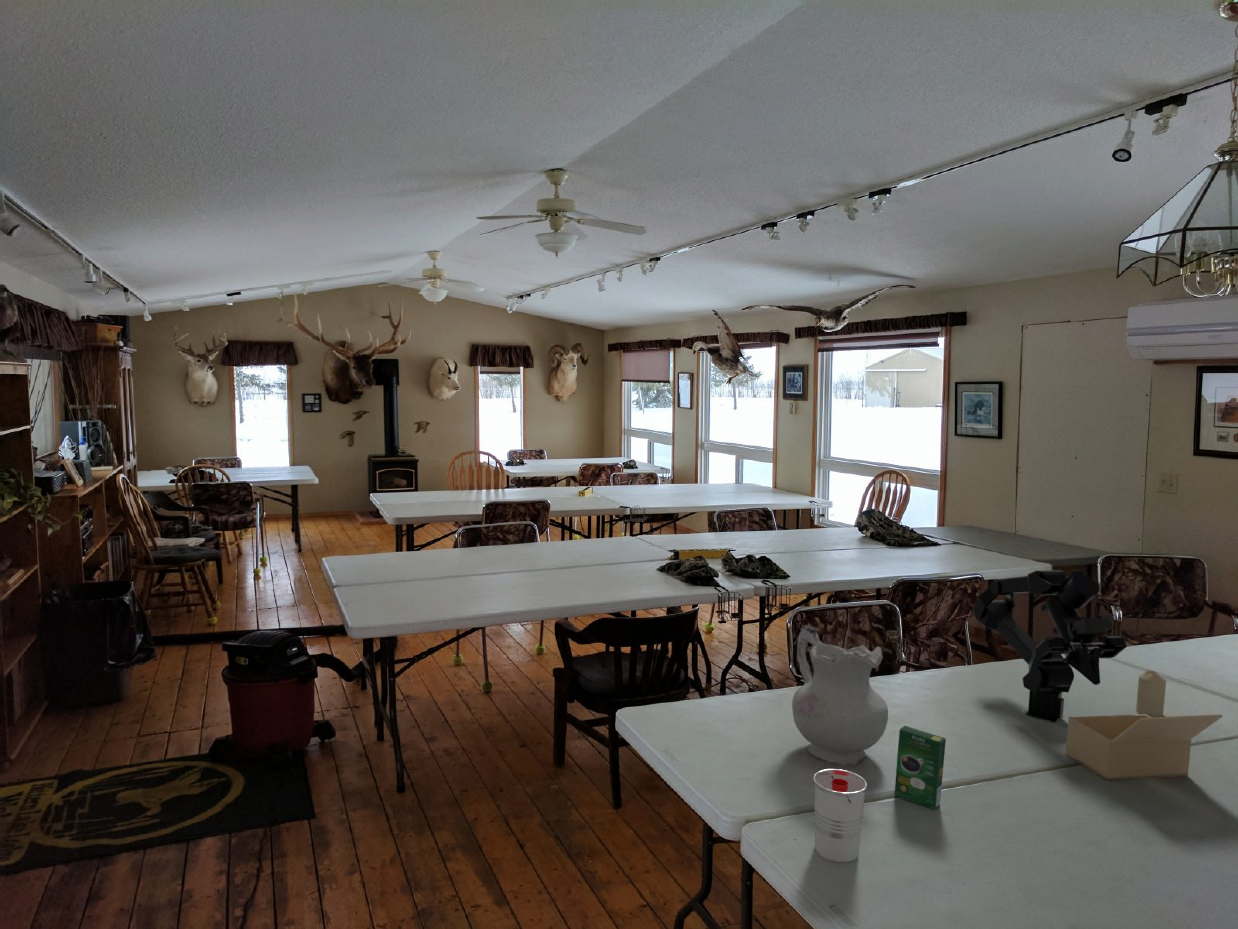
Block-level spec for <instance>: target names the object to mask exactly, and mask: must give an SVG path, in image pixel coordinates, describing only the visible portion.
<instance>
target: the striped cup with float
mask: <svg viewBox="0 0 1238 929" xmlns="http://www.w3.org/2000/svg"><path fill="white" fill-rule="evenodd" d="M812 779H813V781H814V804H813V805H814V806H813V807H814V811H813V812H814V813H813V816H814V817H813V818H814V820H813V821H814V850H815V852H816V853H817V854H818V855H819V856H820V857H822V858H823V859H826V860H828V861H831V862H835V863H850V862H853V861H855V860H856V859H857V858H858V856H859V855H860V854H859V852H860V843H861V841H860V840H861V833H862V826H863V819H864V818H863V817H864V806H865V796H866V789H867V788H868V784H867V781H866V779H864V778H863V777H862V776H860V775H859V774H857V773H855V772H852V771H848V770H844V769H837V768H827V769H822V770H819V771H817V772H816V773H815V774H814V775H813V778H812Z"/></svg>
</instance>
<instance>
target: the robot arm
mask: <svg viewBox="0 0 1238 929" xmlns="http://www.w3.org/2000/svg"><path fill="white" fill-rule="evenodd" d="M988 586H989V587H988V588H987V589H985V590H984V591H983V592H982V593H981V594H979V596H978V597H977V600H976V603H975V604H974V607H973V616H974V617H975V619H976V621H977V622H978V623H980V625H982V626H984V627H986V628H987V629H990V630H993V631H996V632H997V634H999V635H1000V636H1001V637H1002V638H1003V639H1004V640H1005V641H1006V643H1008V645H1009V646H1010V647H1011V648H1012V649H1013V650H1014V651H1015V652H1016V653H1017V655H1019V657H1021V658H1022V660H1024V661H1025V663H1027V665H1028V672H1027V673H1026V674H1025V675H1024V676H1023V677H1022V685H1023V687H1024V688H1025V689H1027V690H1029V693H1028V694H1029V695H1028V706H1027V707H1028V709H1027V711H1025V715H1026V716H1029V717H1033V718H1036V719H1040V720H1041V719H1042V720H1045V721H1050V722H1052V723H1056V722H1057V721H1058V720H1059V719H1060V718H1062V717H1063V716H1064V705H1065V699H1064V697H1062V695H1063V693H1069V692H1070V690H1071V687H1072V684H1073V682H1074V678H1075V673H1074V671H1073V669H1074V670H1076V671H1077V672H1078V673H1080V674H1081V675H1082V676H1084V677H1085V678H1086V679H1087V680H1088V681H1089V682H1091V683H1092V684H1093V685H1094V686H1097V685H1100V684H1101V674H1100V672H1101V671H1100V659H1113V658H1115V657H1117V656H1118V655H1119V654H1120V653H1121V652H1122V651H1124V650H1125V649H1126V648H1127V647H1128V644H1127V642H1126V641H1125V639H1124V637H1122V636H1119V635H1111V636H1110V635H1108V636H1107V635H1106V636H1104V637H1102V638H1101V639H1100V640H1098V641H1097V642H1093V640H1096V639H1098V637H1099V636H1098V635H1099V634H1103V633H1104V634H1107V633H1108V630H1112V629H1113V627H1114V626H1113V623H1112V620H1111V618H1110V617H1109V615H1108V614H1100V615H1096V616H1095V617H1089V618H1088V617H1086V616H1081V614H1080V613H1079V609H1080V610H1081V609H1082V608H1084V607H1085V606H1086V605H1087V604H1088V603H1089V602H1091V601H1092V599H1093V598H1095V597H1096V596H1097V595H1098V594H1099V591H1100V590H1099V589H1100V588H1099V585H1098V583H1097V582H1096V581H1095V580H1093V579H1092V578H1091V577H1089V576H1088V575H1085V574H1084V573H1083V571H1082V570H1072V572H1071V573H1070V574H1069V576H1068V575H1066V574H1065V571H1064V570H1061V569H1056V570H1055V569H1054V570H1042V569H1041V570H1034V571H1031V572H1030V573H1027V576H1023V577H1021V576H1020V577H1013V578H997V579H996V578H995V579H993V580H991V582H990V584H989V585H988ZM1027 593H1030V594H1032V595H1037V596H1049V598H1048V599H1043V603H1042V605H1040V606H1041V607H1040V611H1041V612H1048V613H1049V616H1050V618H1051V620H1052V622H1053V624H1054V626H1055V627H1054V628H1053V629H1052V632H1053V633H1054V635H1055V634H1058V635H1059V637H1045V638H1044V639H1043V640H1042V641H1041V642H1040V643H1039V644H1038V643H1037V642H1036V641H1035V640H1034V639H1033V638H1032V637H1031V636H1030V634H1028V633H1027V632H1026V631H1025V629H1023V628H1022V627H1021V625H1020V624H1018V623H1017V621H1016V620H1014V609H1015V606H1016V603H1015V598H1014V595H1015V594H1027ZM998 596H1005V599H1004V600H1001V599H999V600H998V599H997V597H998ZM996 599H997V600H996ZM1061 653H1063V654H1064V656H1063V655H1062V654H1061Z"/></svg>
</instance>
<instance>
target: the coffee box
mask: <svg viewBox="0 0 1238 929" xmlns="http://www.w3.org/2000/svg"><path fill="white" fill-rule="evenodd" d="M898 736H899V737H898V746H897V756H896V757H897V758H896V771H895V782H894V783H895V784H894V793H893V794H894V796H895V797H898V798H900V799H902V800H907V801H910V802H912V803H915V804H918V805H920V806H923V807H925V808H929V809H933V810H934V811H936V810H937V809H938V808H939V806H941V796H942V786H943V775H944V774H943V773H944V764H945V763H944V761H945V753H946V740H947V739H946V737H942V736H939V735H935V734H934V733H929V732H926V731H924V730H920V729H917V728H913V727H911V726H909V725H908V726H907V725H903V726H902V727H901V728H899V732H898Z"/></svg>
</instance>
